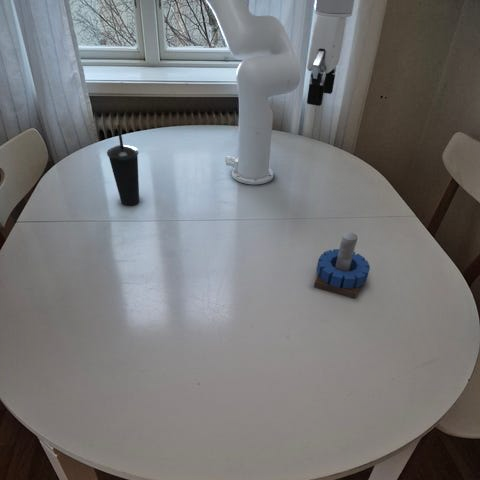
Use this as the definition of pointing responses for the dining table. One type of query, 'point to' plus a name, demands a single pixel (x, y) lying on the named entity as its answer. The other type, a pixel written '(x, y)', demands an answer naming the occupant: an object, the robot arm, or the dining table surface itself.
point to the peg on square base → (342, 265)
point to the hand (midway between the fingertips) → (319, 98)
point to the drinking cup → (125, 171)
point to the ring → (342, 277)
